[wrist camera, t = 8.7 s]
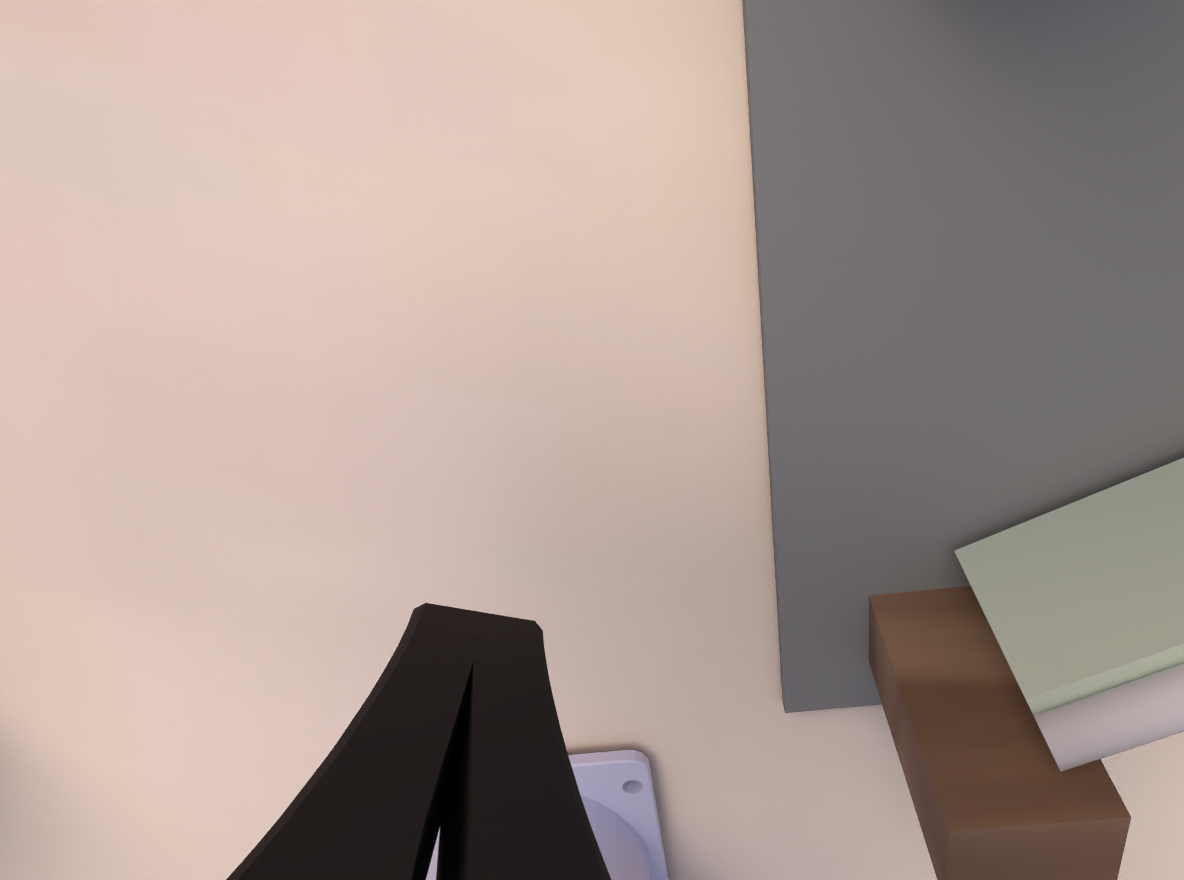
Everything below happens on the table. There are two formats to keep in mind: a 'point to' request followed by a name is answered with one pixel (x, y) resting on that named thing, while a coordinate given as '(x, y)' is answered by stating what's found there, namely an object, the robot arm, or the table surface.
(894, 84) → the yard mat
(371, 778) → the robot arm
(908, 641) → the gate posts
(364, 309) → the table surface
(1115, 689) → the gate
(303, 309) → the table surface
